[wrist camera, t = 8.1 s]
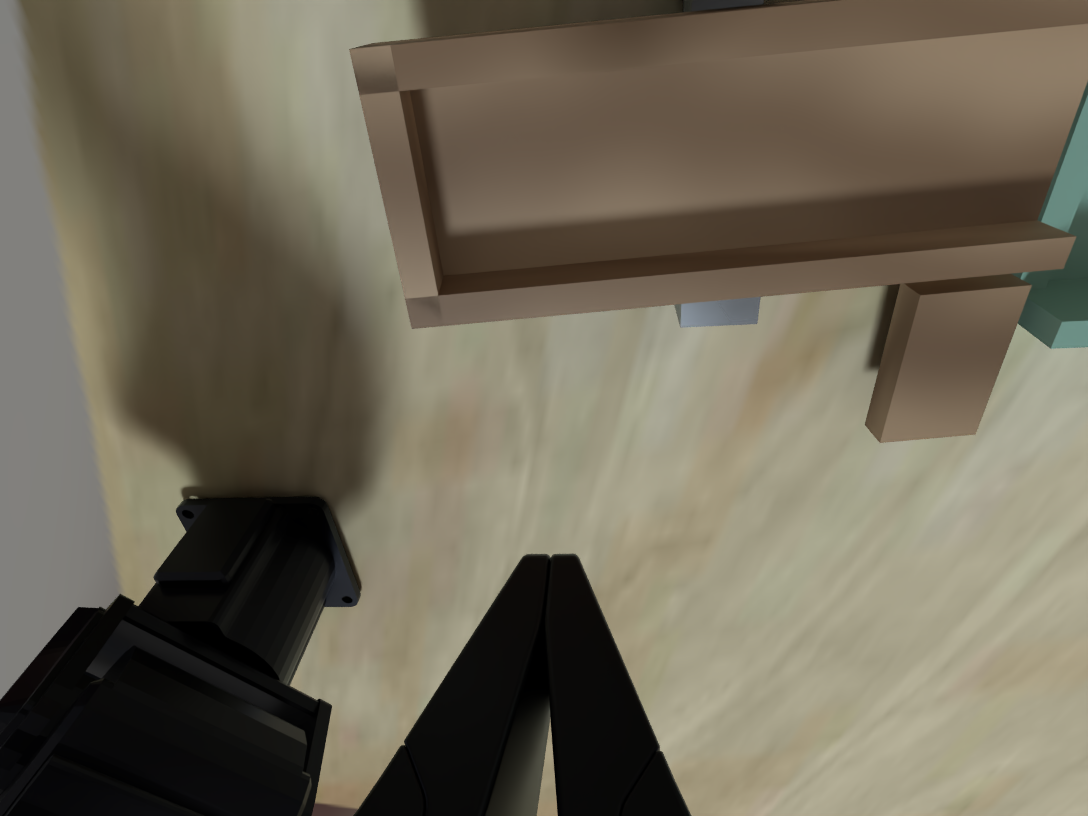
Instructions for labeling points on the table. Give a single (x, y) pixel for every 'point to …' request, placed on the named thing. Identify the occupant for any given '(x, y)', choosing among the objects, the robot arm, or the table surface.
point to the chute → (741, 171)
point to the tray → (1084, 284)
